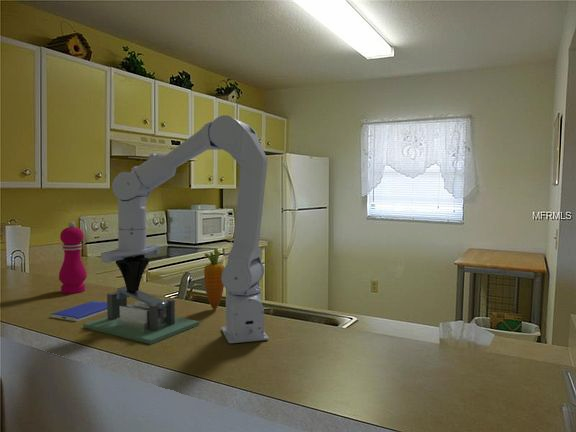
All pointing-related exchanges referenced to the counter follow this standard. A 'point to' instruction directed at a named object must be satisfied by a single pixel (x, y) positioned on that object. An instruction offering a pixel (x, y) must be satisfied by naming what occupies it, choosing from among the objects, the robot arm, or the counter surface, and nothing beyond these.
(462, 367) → the counter surface
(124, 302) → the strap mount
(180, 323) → the motherboard
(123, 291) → the metal bar
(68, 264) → the pepper mill
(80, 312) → the hard drive
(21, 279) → the counter surface
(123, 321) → the heat sink
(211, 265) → the carrot
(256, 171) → the robot arm
